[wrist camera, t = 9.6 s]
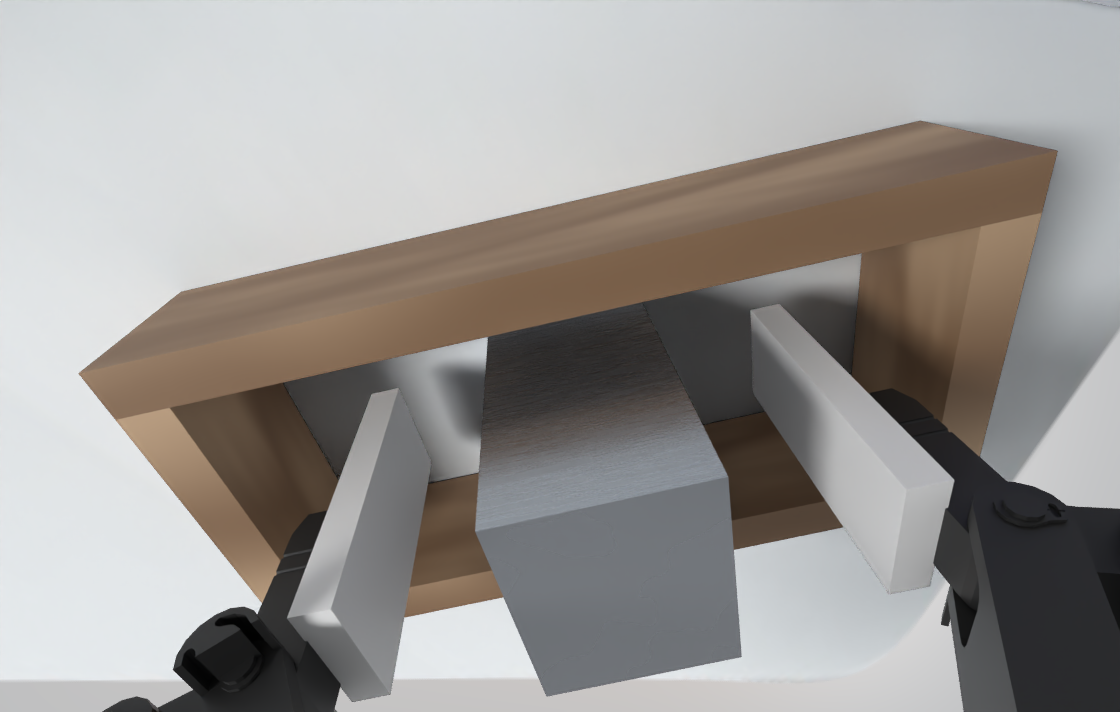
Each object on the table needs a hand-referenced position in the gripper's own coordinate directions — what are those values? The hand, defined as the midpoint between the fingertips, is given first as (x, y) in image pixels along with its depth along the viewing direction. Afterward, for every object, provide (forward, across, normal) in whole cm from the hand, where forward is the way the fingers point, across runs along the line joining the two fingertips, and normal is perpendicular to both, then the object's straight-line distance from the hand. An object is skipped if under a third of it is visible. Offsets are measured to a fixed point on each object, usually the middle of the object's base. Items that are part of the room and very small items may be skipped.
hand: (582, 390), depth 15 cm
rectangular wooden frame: (+2, 0, 0) cm, 2 cm away
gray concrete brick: (+2, 0, 0) cm, 2 cm away
